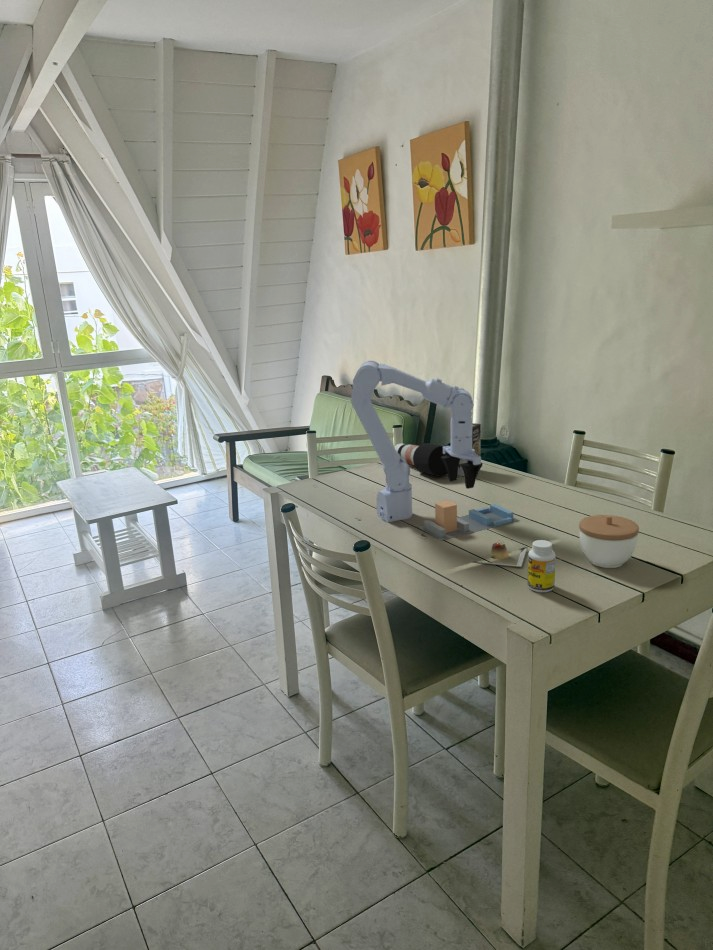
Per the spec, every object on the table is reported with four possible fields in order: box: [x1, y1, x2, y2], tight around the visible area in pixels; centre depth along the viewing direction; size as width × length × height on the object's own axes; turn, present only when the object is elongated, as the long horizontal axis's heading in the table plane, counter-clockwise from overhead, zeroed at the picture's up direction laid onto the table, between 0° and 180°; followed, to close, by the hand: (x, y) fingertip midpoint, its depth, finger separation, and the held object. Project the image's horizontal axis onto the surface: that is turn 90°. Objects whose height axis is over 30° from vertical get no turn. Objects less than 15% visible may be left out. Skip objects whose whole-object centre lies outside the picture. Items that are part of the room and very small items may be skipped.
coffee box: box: [458, 422, 482, 477], centre depth 221 cm, size 9×6×16 cm
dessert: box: [473, 538, 528, 568], centre depth 159 cm, size 12×12×5 cm
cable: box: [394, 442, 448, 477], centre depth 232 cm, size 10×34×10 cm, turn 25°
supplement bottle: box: [527, 539, 557, 593], centre depth 141 cm, size 6×6×10 cm
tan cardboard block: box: [434, 500, 458, 533], centre depth 173 cm, size 4×4×7 cm
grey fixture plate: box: [417, 503, 520, 541], centre depth 177 cm, size 25×11×3 cm, turn 117°
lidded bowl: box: [578, 514, 640, 569], centre depth 151 cm, size 13×13×11 cm
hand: (461, 484), depth 182 cm, fingers open, 7 cm apart
